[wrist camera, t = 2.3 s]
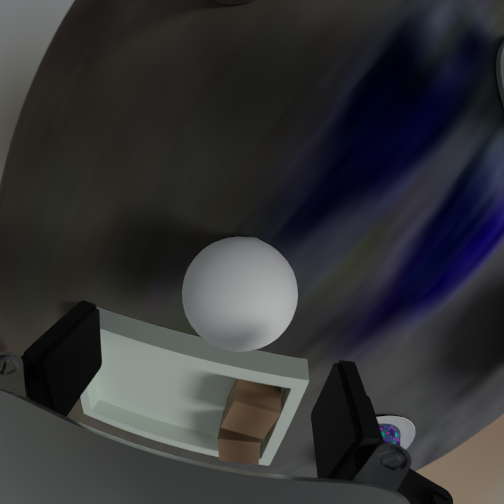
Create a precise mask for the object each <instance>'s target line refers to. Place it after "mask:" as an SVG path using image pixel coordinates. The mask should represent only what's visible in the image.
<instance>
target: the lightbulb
mask: <svg viewBox="0 0 504 504" xmlns="http://www.w3.org/2000/svg"><path fill="white" fill-rule="evenodd" d="M297 299H298V291H297V283H296V278H295V276H294V273H293V270H292V268H291V267H290V265H289V263H288V262H287V260H286V259H285V258H284V257H283V256H282V255H281V254H280V253H279V252H278V251H277V250H276V249H275V248H273V247H272V246H270V245H269V244H267V243H265V242H263V241H261V240H260V239H258V238H255V237H231V238H226V239H222V240H220V241H217V242H214V243H212V244H211V245H209V246H207V247H206V248H204V249H203V250H202V251H201V252H200V253H199V254H198V255H197V256H196V257H195V258H194V260H193V261H192V263H191V264H190V266H189V267H188V269H187V272H186V274H185V277H184V282H183V288H182V300H183V307H184V310H185V314H186V316H187V318H188V320H189V322H190V324H191V326H192V327H193V328H194V329H195V331H196V332H197V333H198V334H199V335H200V336H201V337H202V338H203V339H205V340H206V341H207V342H209V343H211V344H212V345H214V346H216V347H219V348H221V349H225V350H229V351H237V352H243V351H251V350H255V349H259V348H261V347H264V346H266V345H268V344H270V343H271V342H273V341H274V340H276V339H277V338H278V337H279V336H280V335H281V334H282V333H283V332H284V331H285V329H286V328H287V327H288V325H289V323H290V322H291V320H292V318H293V315H294V312H295V309H296V306H297Z"/></svg>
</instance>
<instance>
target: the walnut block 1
mask: <svg viewBox="0 0 504 504" xmlns="http://www.w3.org/2000/svg"><path fill="white" fill-rule="evenodd" d="M280 414H281V387H279V386H274V385H268V384H263V383H258V382H252V381H247V380H243V379H238V378H236V380H235V382H234V384H233V387H232V389H231V391H230V393H229V395H228V397H227V400H226V405H225V410H224V415H223V419H222V424H221V428H224V429H227V430H231V431H234V432H238V433H241V434H245V435H249V436H253V437H256V438H260V439H264V437H265V436H266V434H267V433H268V431H269V430H270V429H271V427H272V426H273V424H274V423H275V421H276V420H277V418H278V417H279V415H280Z"/></svg>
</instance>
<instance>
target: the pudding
mask: <svg viewBox="0 0 504 504" xmlns="http://www.w3.org/2000/svg"><path fill="white" fill-rule="evenodd" d="M376 418H377V421H378V423H387V424H392V425H384V426H379V427H380V430H381V433H382V436H383V439H384V442H385V443H393V444H397V445H399V446H401V447H403V448H404V449H405V450H406V449H407V448H408V447H409V446H410V444H411V443H412V441H413V439H414V436H415V427H414V425H413V423H412V422H411V421H409V420H408V419H406V418H403V417H399V416H381V417H376ZM393 425H395V426H396V427H398V428H399V430H400V432H401V437H400V432H399V431H395V427H394V426H393Z"/></svg>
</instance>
